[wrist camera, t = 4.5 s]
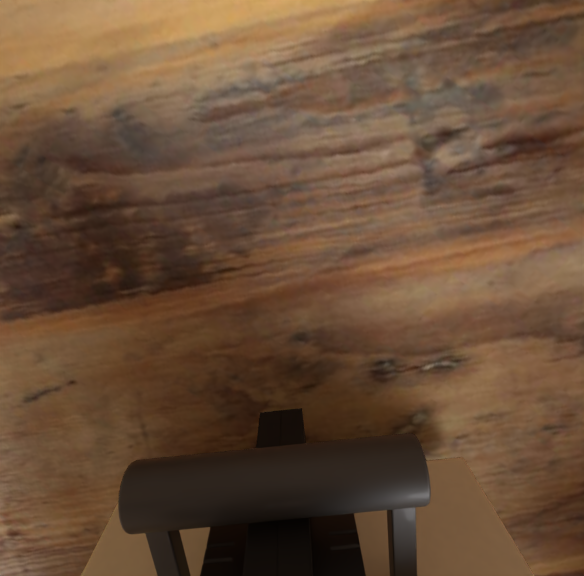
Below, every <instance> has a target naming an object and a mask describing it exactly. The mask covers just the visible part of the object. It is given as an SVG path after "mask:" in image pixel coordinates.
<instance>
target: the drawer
mask: <svg viewBox="0 0 584 576" xmlns="http://www.w3.org/2000/svg"><path fill="white" fill-rule="evenodd" d="M351 513H354V517H355V522H356V527H357V533H358V537H359V542H360V549H361V553H362V558H363V563H364V568H365V574H366V576H535V575H534V574H533V572H532V570H531V569H530V567H529V565H528V564H527V562H526V560H525V559H524V557H523V555H522V554H521V552H520V551H519V549H518V547H517V546H516V544H515V542H514V541H513V539H512V537H511V536H510V534H509V532H508V531H507V529H506V527H505V526H504V524H503V522H502V521H501V519H500V517H499V516H498V514H497V513H496V511H495V509H494V508H493V506H492V504H491V503H490V501H489V499H488V498H487V496H486V494H485V493H484V491H483V489H482V488H481V486H480V484H479V483H478V481H477V480H476V478H475V476H474V475H473V473H472V471H471V470H470V468H469V466H468V465H467V463H466V461H465V460H464V458H462V457H459V458H449V459H439V460H429V461H426V459H425V455H424V452H423V449H422V447H421V445H420V442H419V441H418V439H417V437H416V436H415V435H414V434H412V433H405V434H395V435H385V436H375V437H365V438H355V439H345V440H335V441H325V442H315V443H305V444H295V445H284V446H274V447H264V448H254V449H244V450H234V451H224V452H214V453H204V454H194V455H184V456H174V457H164V458H154V459H144V460H136V461H134V462H133V463H131V464H130V465H129V466H128V468H127V470H126V471H125V474H124V476H123V479H122V482H121V486H120V492H119V501H118V503H117V505H116V507H115V509H114V511H113V513H112V515H111V517H110V519H109V521H108V523H107V525H106V527H105V529H104V531H103V533H102V535H101V537H100V539H99V541H98V543H97V545H96V547H95V549H94V551H93V553H92V555H91V557H90V559H89V561H88V563H87V565H86V567H85V569H84V571H83V573H82V575H81V576H200V573H201V569H202V565H203V559H204V555H205V550H206V548H207V540H208V536H209V531H210V527H216V526H226V525H236V524H247V523H257V522H268V521H278V520H289V519H299V518H310V517H320V516H331V515H341V514H351Z"/></svg>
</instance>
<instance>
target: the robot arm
mask: <svg viewBox="0 0 584 576" xmlns="http://www.w3.org/2000/svg"><path fill="white" fill-rule="evenodd" d="M305 443H306V440H305V431H304V422H303V414H302V408H301V409H291V410H281V411H271V412H261V413H260V418H259V428H258V437H257V446H256V448H264V447H274V446H284V445H295V444H305ZM200 576H366V574H365V568H364V563H363V558H362V553H361V549H360V542H359V537H358V533H357V527H356V522H355V517H354V513H351V514H341V515H331V516H320V517H310V518H299V519H289V520H278V521H268V522H257V523H247V524H236V525H226V526H216V527H210V531H209V536H208V540H207V548H206V550H205V555H204V559H203V565H202V569H201V573H200Z"/></svg>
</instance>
